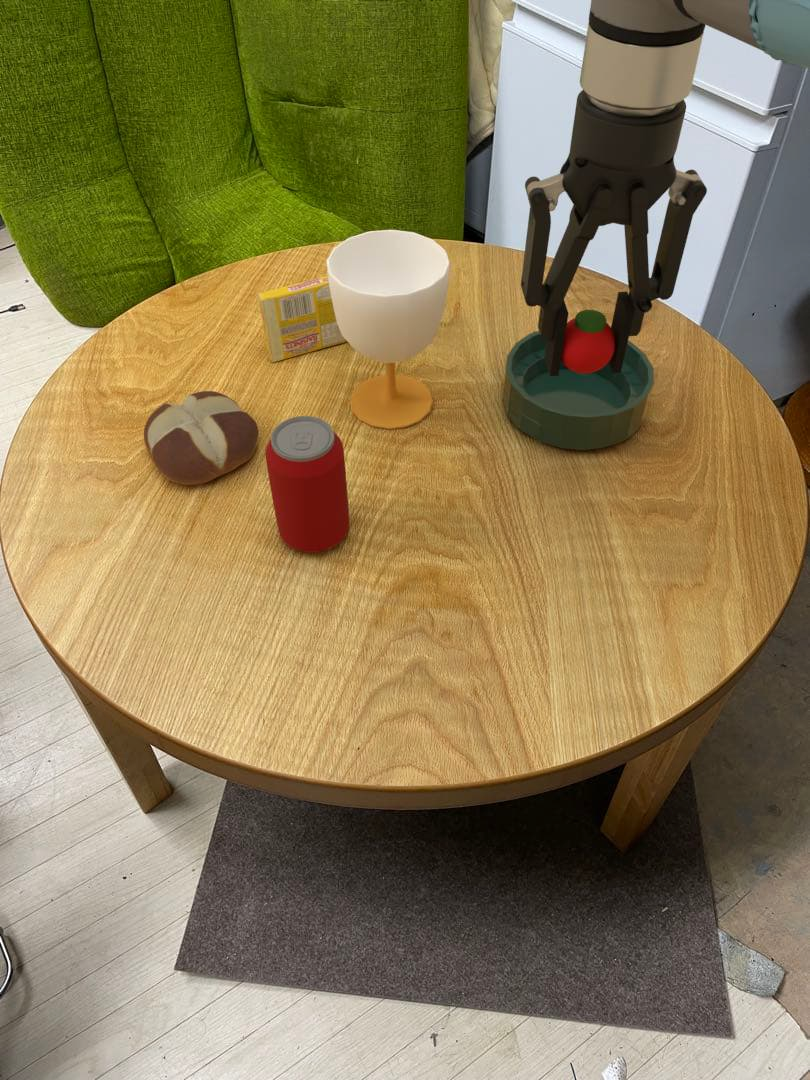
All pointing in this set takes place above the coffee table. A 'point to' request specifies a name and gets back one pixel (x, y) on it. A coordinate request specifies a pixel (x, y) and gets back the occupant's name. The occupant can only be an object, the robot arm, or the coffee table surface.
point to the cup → (389, 316)
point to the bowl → (575, 397)
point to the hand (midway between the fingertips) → (582, 364)
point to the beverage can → (308, 483)
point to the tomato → (588, 342)
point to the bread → (200, 437)
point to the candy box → (299, 319)
